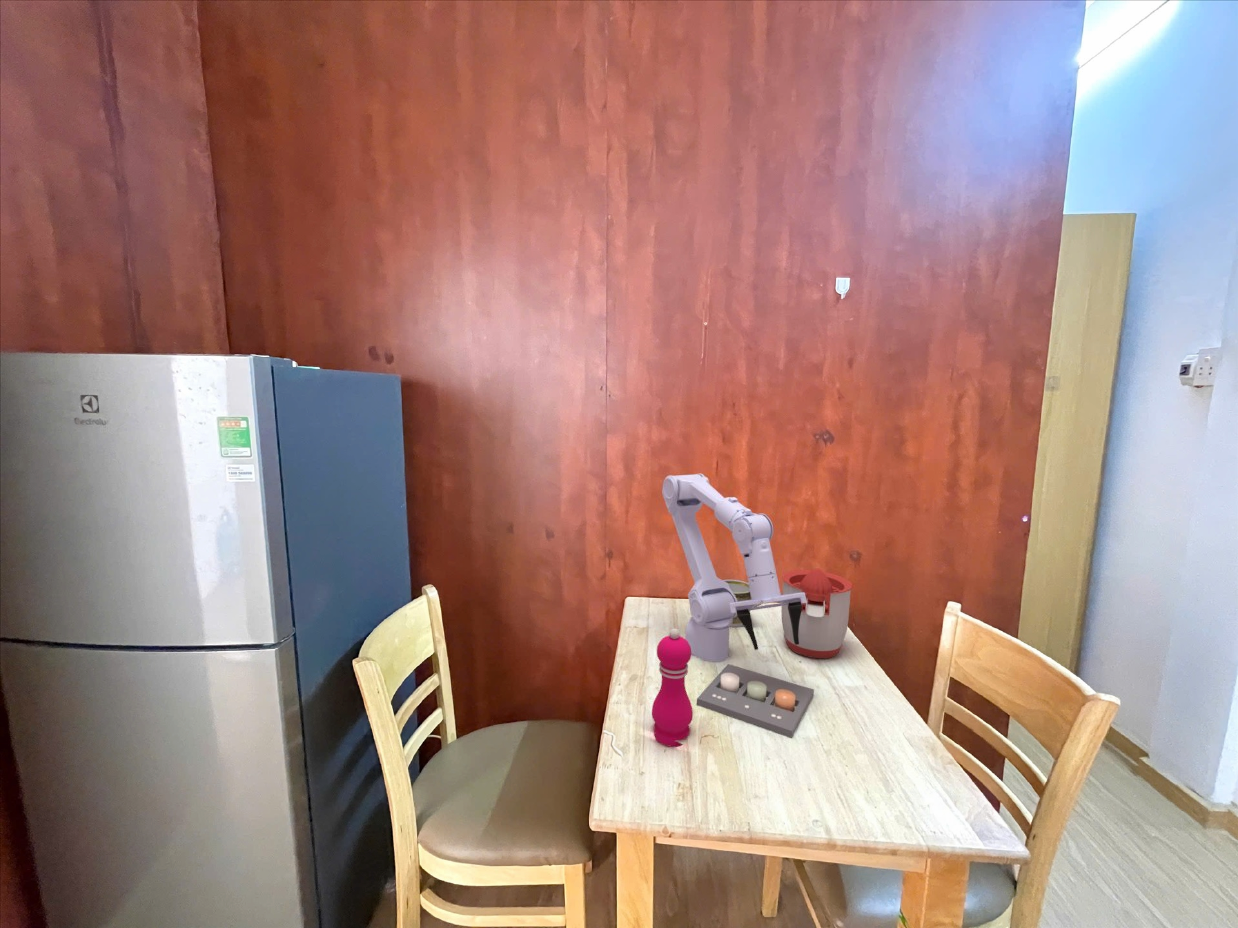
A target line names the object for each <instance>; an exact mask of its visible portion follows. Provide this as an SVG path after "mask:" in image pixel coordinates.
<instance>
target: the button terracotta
mask: <svg viewBox="0 0 1238 928" xmlns="http://www.w3.org/2000/svg"><path fill="white" fill-rule="evenodd" d="M774 706H775V707H778V708H782V709H785V710H788V711H791V712H794V711H795V709H796V706H795V694H794V693H793V692H791V691H789V690H785V689H780V690H777V691H776V693H775V703H774Z"/></svg>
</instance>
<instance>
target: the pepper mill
mask: <svg viewBox="0 0 1238 928" xmlns="http://www.w3.org/2000/svg"><path fill="white" fill-rule="evenodd" d="M656 656H657V659H658V661H659V665H658V666H659V668H658V672H659V673H660V674H661V685H660V688H659V690H658V692H657V695H656V697H655V699H654V700H653V703H652V707H651V717H652V719H653V722H654V726H653V731H654V733H653V737H654V738H655V740H656V741H657V742H658V743H659V744H660V745H664V746H666V747H672V748H673V747H681V746H683V745H684V743H681V742H680V741H682V740H684V739H686V738H687V737H688V736H689V735H690V724H691V722H692V721H693V717H694V713H693V712H694V711H693V706H692V703H691V700H690V697H689V695H688V693H687V690H686V685H685V682H686V681H685V679H686V676H687V675H688V674H689V671H688V669H689V664H688V663H689V662H690V661H691V658H692V655H691V647H690V645H689V643H688V641H687V640H686V639H685V637H682V636H681V635H680V630H678V629H677V628H672V629H670V631H669V635H667V636H664V637H663V638H662V639H660V641H659V642H658V645H657V647H656ZM678 741H679V742H678Z"/></svg>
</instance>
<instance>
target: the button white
mask: <svg viewBox="0 0 1238 928" xmlns="http://www.w3.org/2000/svg"><path fill="white" fill-rule="evenodd" d="M720 689H723V690H726V691H729V692H732V693H735V694H737V692H738V691H739V690H740V689H739V677H738V676H737V675H736V674H733V673H723V674H722V675H721V687H720Z"/></svg>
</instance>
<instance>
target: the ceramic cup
mask: <svg viewBox="0 0 1238 928" xmlns="http://www.w3.org/2000/svg"><path fill="white" fill-rule="evenodd" d="M722 580H723V579H722ZM723 581H725V582H726V583H728V584H729V587H730V589H731V591H732V593H733V594H734V595H735V597H736V598H737V601H738V602H739V601H745V600H751V594H750V589H749V584H748V581H747V582H746V581H743V580H738V579H724V580H723ZM758 606H762V604H758ZM758 606H755V607H758ZM751 611H752V610H750V612H751ZM741 627H744V625H743V624H742V622H741V621H740V619H739V618H738V616H736V617H734V618H733V622H732V623H730V628H741Z"/></svg>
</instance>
